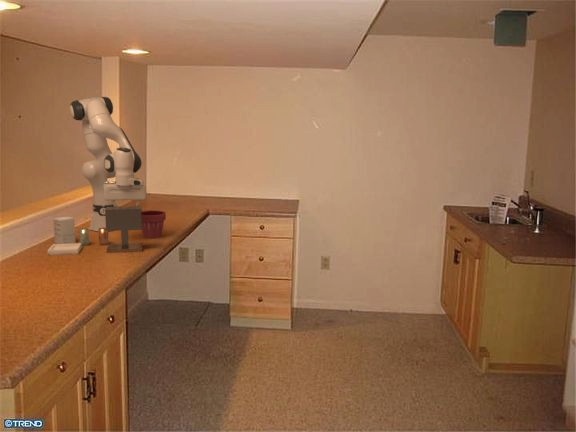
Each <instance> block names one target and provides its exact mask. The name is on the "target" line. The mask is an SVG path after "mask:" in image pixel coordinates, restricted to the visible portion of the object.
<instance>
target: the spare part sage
mask: <svg viewBox="0 0 576 432" xmlns="http://www.w3.org/2000/svg"><path fill="white" fill-rule="evenodd" d="M78 236H79V238H78V239H79V243H82V247H87V246H90V230H89V229H88V227H83V228H82V227H81V228H78Z"/></svg>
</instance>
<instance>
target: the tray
mask: <svg viewBox="0 0 576 432" xmlns="http://www.w3.org/2000/svg"><path fill="white" fill-rule="evenodd" d="M82 249H83V246H82V243H80V242H78V243H77V242H76V243H71V244H57V243H53V244H52V245H51V246H50V247H49V248H48V249H47V256H64V255H65V256H66V255H78V254H80V252H81V250H82Z"/></svg>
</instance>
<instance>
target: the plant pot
mask: <svg viewBox="0 0 576 432" xmlns="http://www.w3.org/2000/svg"><path fill="white" fill-rule="evenodd" d="M166 219H167V216H166V211H163V210H143V211H142V230H141V232H142V235H143V238H145V239H158V238H161V237H162V233H163V230H164V223H165V221H166Z"/></svg>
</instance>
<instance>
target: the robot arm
mask: <svg viewBox="0 0 576 432" xmlns="http://www.w3.org/2000/svg"><path fill="white" fill-rule="evenodd" d="M69 113H70V116H71V117H72V118H73V119H74V120H75V121H81V127H82V134H83V138H84V142H85V146H86V147H85V148H86V149H87V152H89V153H90V154H91V155H93V156H94V159H91V160H88V161H86V162H84V163H83V164H82V166H81V173H82V176H83V177H84V178H85V179H86V180H87V181H88V183H89V184H90V186H91V189H92V196H93V204H92V211H93V212H92V213H91V214H90V226H88V227H87V228H88V229H89V231H94V232H98V229H99V228H106V218H105V209H106V207H119V206H118V204H116V201H136V204H134V205H133V206H139V203H140V201H146V199H147V196H148V195H147V190H146V186H145V185H144V184H145V183H144V180H143V179H141V178H137V177H135V174H136V173H137V172H138V171H139V170H140V169H141V168H142V159H141V157H140V155H139V154H138V153H137V151H135V149H134V146H133V145H132V144H131V141H130V140H129V138H128V137H127V135H126V133H125V131H124V129H122V128H121V127H120V126H119V125H118V124H117V123H116V122H115V121H114V120H113V118H112V114H113V113H114V104H113V102H112V100H111V98H109V97H107V96H101V97H100V96H99V97H98V96H97V97H87V98H84V99H83V98H82V99H80V100H79V99H77V100H73V101H71V103H70V104H69ZM107 139H108V140H111V141H113V142H116V143H117V144H118V146H119V147H117V148H116V149H115V150H114V152H112V150H111V148H110V146H109V143H108V140H107ZM112 178H113V179H114V178H115V181H108V179H112Z"/></svg>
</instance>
